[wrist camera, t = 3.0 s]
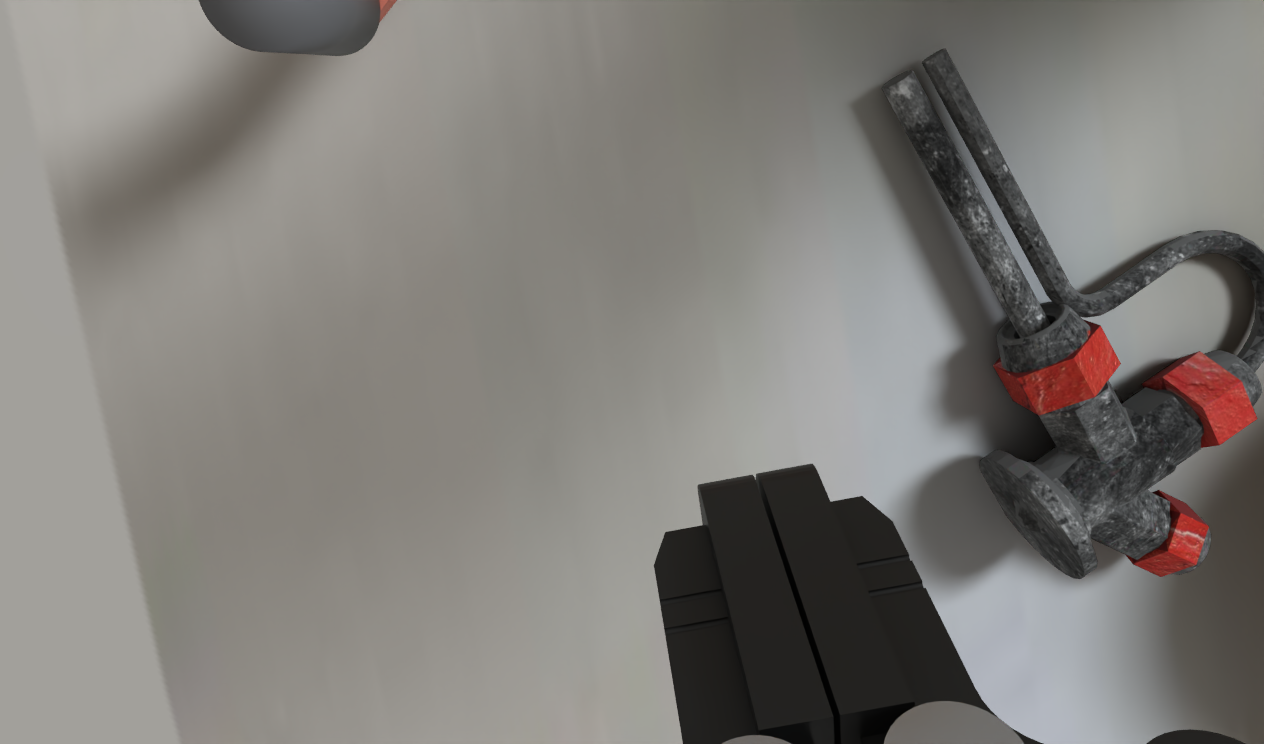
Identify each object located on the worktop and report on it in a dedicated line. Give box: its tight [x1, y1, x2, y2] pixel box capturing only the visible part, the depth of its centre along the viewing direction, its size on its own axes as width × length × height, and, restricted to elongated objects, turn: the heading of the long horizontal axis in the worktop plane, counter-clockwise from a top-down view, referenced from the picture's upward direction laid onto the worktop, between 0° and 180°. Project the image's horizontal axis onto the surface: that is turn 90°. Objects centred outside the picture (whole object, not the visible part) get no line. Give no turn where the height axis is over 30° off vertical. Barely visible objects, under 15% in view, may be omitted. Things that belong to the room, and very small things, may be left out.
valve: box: [882, 49, 1264, 579], centre depth 38 cm, size 6×26×15 cm
